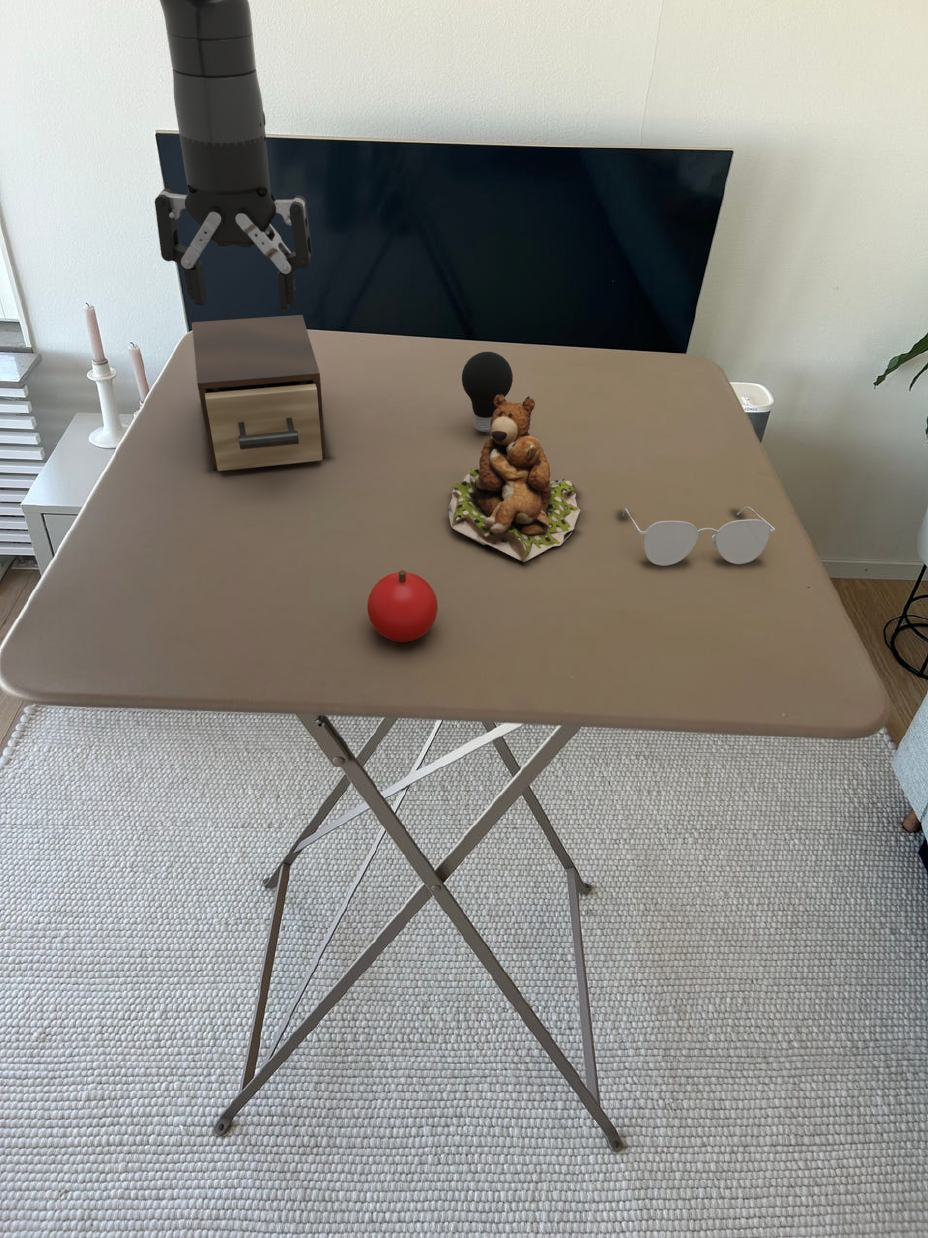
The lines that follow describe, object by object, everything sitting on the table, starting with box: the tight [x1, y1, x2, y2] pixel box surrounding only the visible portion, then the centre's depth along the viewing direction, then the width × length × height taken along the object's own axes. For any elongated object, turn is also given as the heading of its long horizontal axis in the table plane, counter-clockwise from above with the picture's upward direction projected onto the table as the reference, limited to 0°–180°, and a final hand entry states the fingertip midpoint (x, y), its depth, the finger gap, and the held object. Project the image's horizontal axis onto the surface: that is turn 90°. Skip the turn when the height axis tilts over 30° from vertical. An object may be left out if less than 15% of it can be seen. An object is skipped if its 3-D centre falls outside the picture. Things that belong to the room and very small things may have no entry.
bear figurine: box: [447, 394, 581, 563], centre depth 90 cm, size 14×15×12 cm
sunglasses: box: [622, 505, 776, 567], centre depth 91 cm, size 14×8×5 cm, turn 95°
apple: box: [366, 569, 438, 643], centre depth 78 cm, size 6×6×7 cm
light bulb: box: [461, 351, 514, 434], centre depth 103 cm, size 6×6×10 cm
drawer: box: [205, 381, 323, 472], centre depth 97 cm, size 18×11×9 cm, turn 15°
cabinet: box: [191, 314, 327, 471], centre depth 101 cm, size 15×13×11 cm
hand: (244, 304), depth 90 cm, fingers open, 8 cm apart
